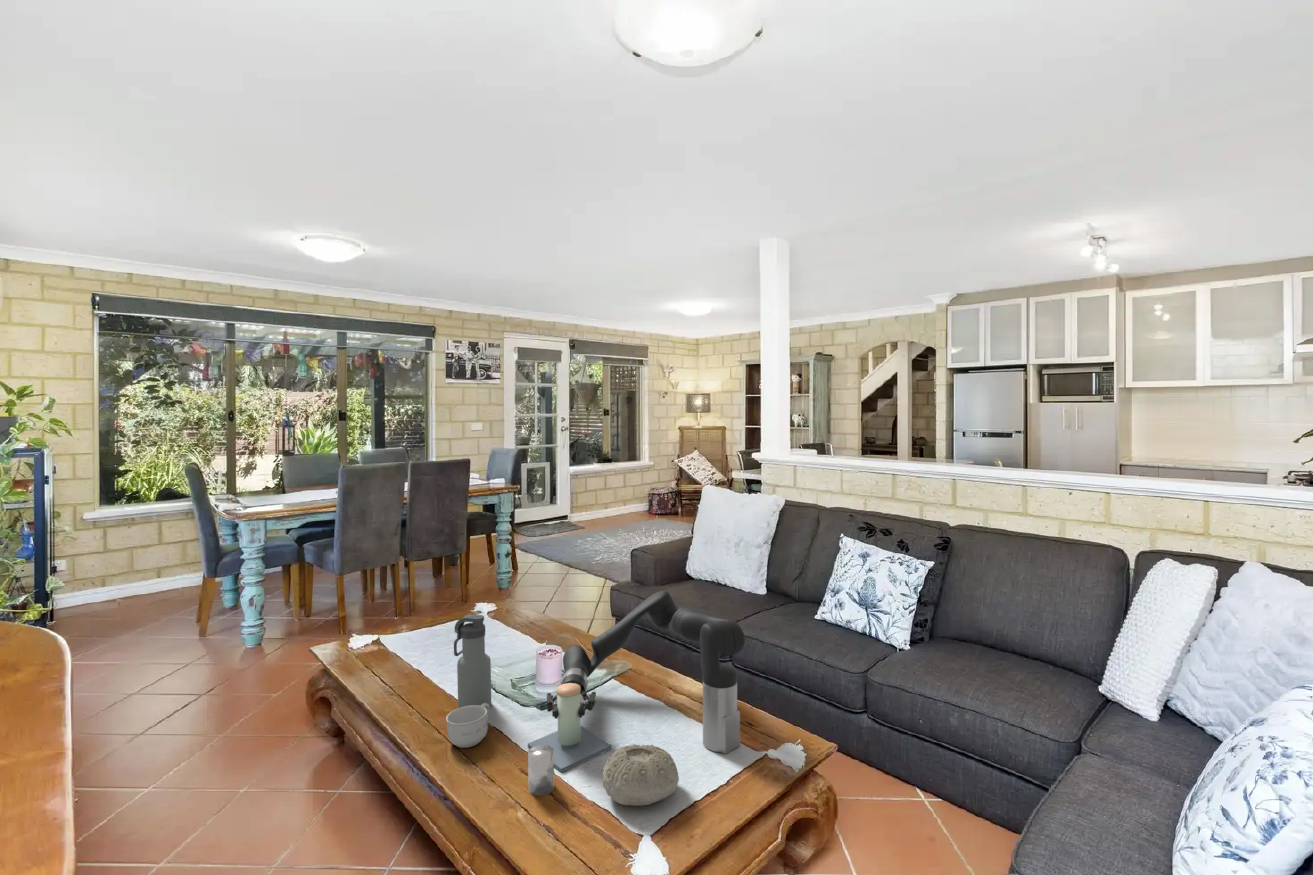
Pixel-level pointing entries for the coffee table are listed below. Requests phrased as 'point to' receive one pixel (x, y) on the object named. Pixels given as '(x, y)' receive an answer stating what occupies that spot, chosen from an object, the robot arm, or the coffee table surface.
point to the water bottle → (472, 662)
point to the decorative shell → (640, 775)
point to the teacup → (468, 725)
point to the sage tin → (569, 714)
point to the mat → (573, 749)
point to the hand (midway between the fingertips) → (568, 714)
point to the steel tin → (541, 770)
